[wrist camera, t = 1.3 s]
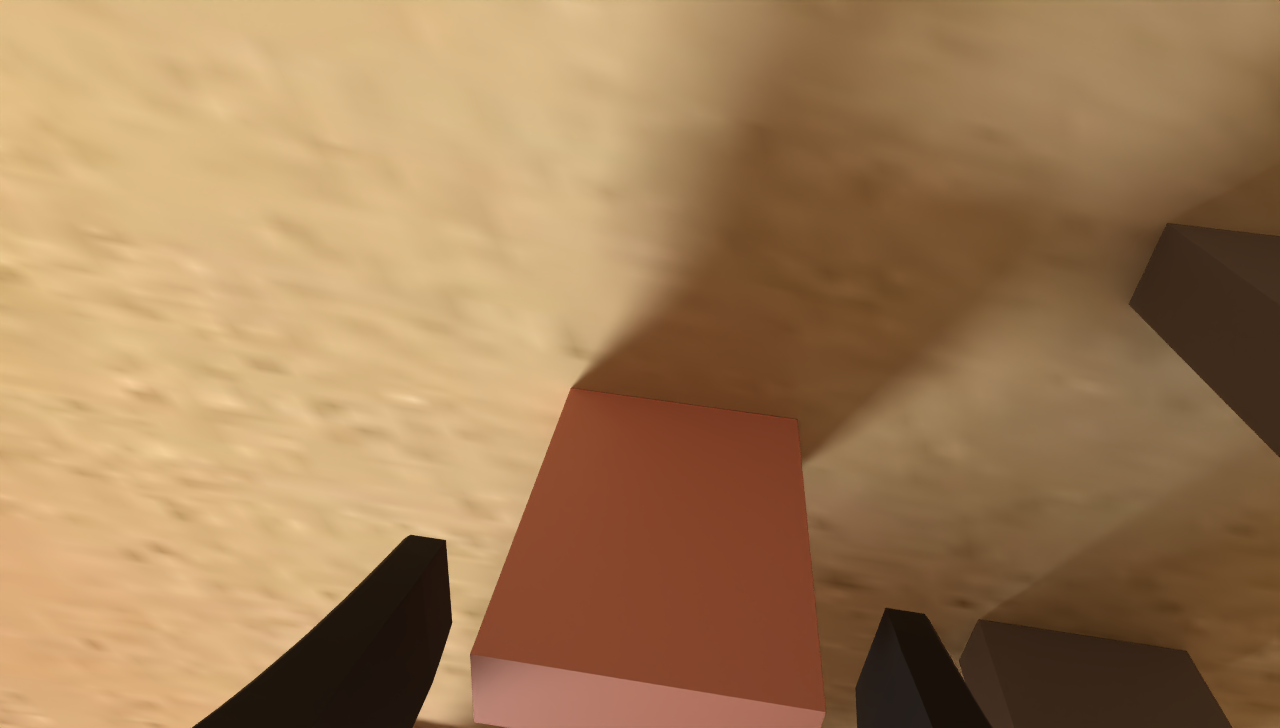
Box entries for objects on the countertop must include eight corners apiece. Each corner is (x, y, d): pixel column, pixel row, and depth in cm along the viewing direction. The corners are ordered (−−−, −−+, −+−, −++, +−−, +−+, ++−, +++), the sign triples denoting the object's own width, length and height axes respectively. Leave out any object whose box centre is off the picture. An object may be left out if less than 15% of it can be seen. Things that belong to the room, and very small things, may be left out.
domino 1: (784, 476, 17) (803, 777, 11) (568, 445, 17) (474, 722, 11) (797, 419, 16) (826, 712, 10) (570, 387, 16) (470, 654, 11)
